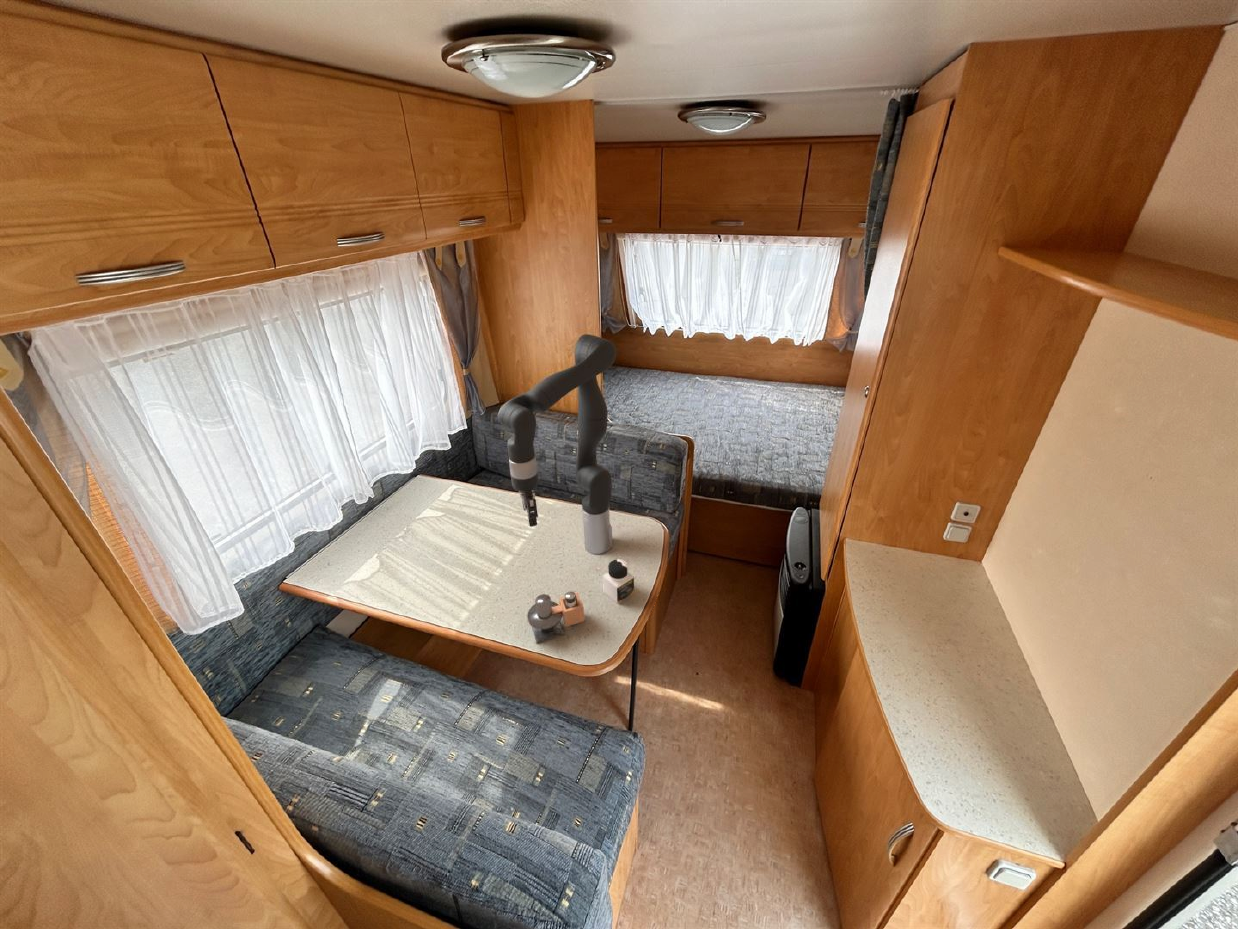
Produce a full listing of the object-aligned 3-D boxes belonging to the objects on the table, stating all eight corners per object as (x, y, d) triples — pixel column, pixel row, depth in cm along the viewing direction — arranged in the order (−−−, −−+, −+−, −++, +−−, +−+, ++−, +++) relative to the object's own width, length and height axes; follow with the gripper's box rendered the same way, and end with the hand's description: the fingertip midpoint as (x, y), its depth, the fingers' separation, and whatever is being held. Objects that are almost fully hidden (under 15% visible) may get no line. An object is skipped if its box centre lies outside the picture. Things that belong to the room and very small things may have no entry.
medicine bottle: (617, 604, 160) (616, 575, 154) (603, 592, 164) (601, 563, 158) (634, 593, 164) (634, 564, 157) (619, 581, 168) (619, 553, 162)
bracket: (578, 607, 156) (577, 592, 153) (584, 621, 152) (583, 606, 149) (550, 615, 154) (548, 601, 151) (555, 629, 149) (553, 615, 146)
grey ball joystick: (558, 612, 157) (555, 583, 151) (567, 636, 149) (564, 607, 143) (526, 621, 154) (522, 592, 148) (533, 647, 146) (529, 617, 140)
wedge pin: (576, 616, 156) (573, 590, 150) (579, 624, 153) (576, 597, 148) (566, 619, 155) (563, 593, 149) (569, 627, 152) (566, 600, 147)
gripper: (543, 481, 139) (548, 528, 148) (531, 456, 151) (537, 501, 159) (515, 486, 137) (522, 534, 146) (506, 461, 149) (513, 507, 157)
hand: (530, 517), depth 152 cm, fingers open, 8 cm apart
